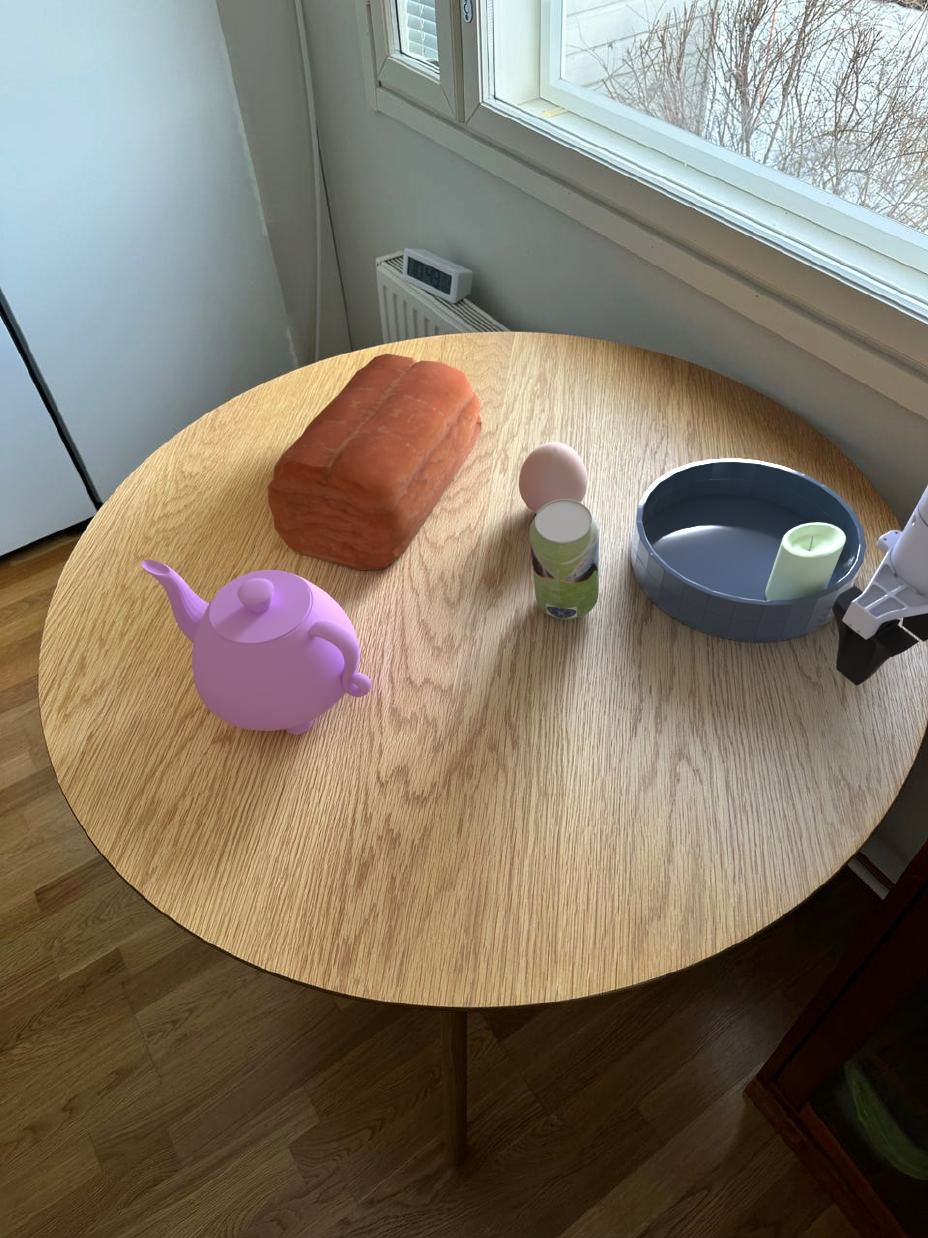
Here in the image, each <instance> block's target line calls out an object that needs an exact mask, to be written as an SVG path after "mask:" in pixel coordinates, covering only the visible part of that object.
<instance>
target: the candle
mask: <svg viewBox="0 0 928 1238" xmlns="http://www.w3.org/2000/svg"><path fill="white" fill-rule="evenodd" d="M845 541H846V536H845V534H844V532H843V531H842V530H841V529H839V528H838V527H836V526H834V525H831V524H826V523H808V524H803V525H800V526H797V527H795V528H793V529H791V530H790V531H788V532H787V533H786V534H785V535H784V537H783V539H782V542H781V545H780V548H779V551H778V554H777V557H776V560H775V563H774V566H773V569H772V572H771V575H770V578H769V581H768V585H767V588H766V591H765V596H766V599H767V601H770V600H792V599H796V598H801V597H805V596H810V595H814V594H816V593H818V592H821V591H823V590H825V589H826V588H827V586H828V583H829V581H830V578H831V576H832V573H833V571H834V568H835V566H836V564H837V561H838V559H839V556H840V554H841V551H842V549H843V546H844V544H845Z"/></svg>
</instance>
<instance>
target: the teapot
mask: <svg viewBox="0 0 928 1238" xmlns="http://www.w3.org/2000/svg"><path fill="white" fill-rule="evenodd" d="M141 567H142V569H143V570H144V571H146V572H147V574H149V575H151V576H152V578H154V579H156V581H157V582H158V583H159V584H160V585H161V586H162V588H163V590H164V591H165V593H166V595H167V598H168V601H169V604H170V607H171V611H172V614H173V616H174V619H175V622H176V624H177V626H178V628H179V629H180V631H181V632H182V634H183V635H184V636H185V637H186V638H187V639H188V640H189V641H190V642H191V643H192V649H191V669H192V676H193V682H194V685H195V688H196V692H197V694H198V696H199V698H200V700H201V702H202V704H203V705H204V706H205V707H206V708H207V710H208V711H210V712H211V713H212V714H213V715H214V716H216V717H217V718H219V719H220V720H222V721H223V722H225V723H226V724H229V725H232V726H234V727H237V728H241V729H243V730H244V729H245V730H251V731H258V732H272V731H273V732H274V731H283V730H285V731H286V732H287V733H288V734H290V735H293V736H294V735H297V736H299V735H303V734H305V733H307V732H308V731H309V730H310V729H311V728H312V726H313V724H314V720H315V719H317V718H318V717H320V716H322V715H323V714H325V713H326V712H328V711H330V710H331V708H333V707H334V706H336V704H337V703H338V702H339V701H340V700H341V699H342V698H343V697H344V696H345V695H346V694H348V695H349V696H351V697H354V698H362V697H364V696H365V697H366V696H367V694H369V693H370V692H371V689H372V685H373V684H372V683H373V682H372V680H371V679H370V678H369V676H367V675H365V674H364V673H361V672H358V670H359V665H360V661H361V649H360V643H359V639H358V635H357V633H356V630H355V628H354V626H353V624H352V622H351V620H350V618H349V617H348V615H347V614H346V612H345V611H344V609H343V607H341V606H340V604H339V603H338V602H337V601H336V600H335V599H334V598H333V597H332V596H330V594H329V593H328V592H326V591H325V590H323V589H322V588H320V587H319V586H317V585H315V584H314V583H312V582H311V581H309V580H307V579H306V578H305V577H304V578H303V577H301V576H299V575H297V574H294V573H291V572H289V571H284V570H280V569H262V570H256V571H252V572H248V573H245V574H242V575H240V576H237V577H236V578H234V579H232V580H231V581H229V582H228V583H226V584H225V585H223V586H222V587H221V588H220V589H219V590H218V591H217V592H216V593H215V595H214V596H213V597H212V598H211V600H210V602H209V603H208V602H207V601H205V600H204V599H202V597H200V596H199V595H198V594H197V593H196V592H194V590H193V589H192V588H191V587H190V586H189V585H188V583H187V582H186V580H184V579H183V578H182V577H181V576H180V574H178V573H177V572H176V571H175V570H174V569H173V568H171V567H170V566H168V565H167V564H164V563H162V562H160V561H158V560H153V559H145V560H142V562H141Z"/></svg>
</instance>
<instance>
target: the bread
mask: <svg viewBox="0 0 928 1238" xmlns="http://www.w3.org/2000/svg"><path fill="white" fill-rule="evenodd" d="M481 410H482V406H481V403H480V400H479V397H478V395H477V394H476V393H475V392H474V391H473V388H472V385H471V383H470V381H469V380H468V378H467V376H466V374H465V372H464V371H463V370H460V369H458V368H455V367H453V366H451V365H448V364H446V363H444V362H441V361H433V360H420V361H417V360H416V359H415V358H413V357H410V356H403V355H398V354H393V353H383V354H380V355H377V356H373V358H372V359H371V360H370V361H369V362H368V363H366V365H364V366H363V367H361V368H360V369H358V370H356V372H355V374H354V375H353V376H352V377H351V378H350V380H349V381H347V384H346V385H344V387H343V388H342V389H341V390H340V392H339V393H338V394H337V395H336V396H335V397H334V398H333V399H332V400H331V401H330V402H329V403H328V404H327V405H326V406H325V407H324V408H323V409H322V410H321V411H320V412H319V413H318V414H317V415H315V417H314V418H313V419H312V420H311V421H310V422H309V423H308V424H307V426H306V427H305V429H304V431H303V432H302V434H301V435H300V436H299V437H298V438H297V439H296V440H295V441H294V442H293V443H291V445H290V446H289V447H288V448H287V449H286V450H285V451H284V452H283V453H282V455H281V456H280V458H278V460H277V462H276V463H275V464H274V467H273V474H272V476H273V477H272V480H271V481H270V482H269V484H267V504H268V506H269V509H270V512H271V515H272V517H273V526H274V527H273V528H274V529H275V531H276V532H277V533H278V535H279V536H280V538H281V539H282V540H283V542H284V543H285V544H286V545H287V546H288V547H289V548H290V549H291V550H292V551H293V552H294V553H297V554H300V555H304V556H308V557H311V558H315V559H318V560H322V561H325V562H328V563H333V564H337V565H339V566H344V567H347V568H350V569H354V570H357V571H372V570H374V571H375V570H384V569H386V568H387V567H388V566H389V565H391V564H392V563H393V562H394V561H395V560H397V559H398V558H399V557H401V556H402V555H403V554H404V553H406V551H407V549H408V548H409V547H410V545H411V543H412V542H413V540H414V539H415V538H416V536H417V534H418V533H419V531H420V530H421V528H422V527H423V525H424V524H425V522H426V521H427V519H428V518H429V516H430V515H431V513H432V512H433V510H434V508H435V507H436V506H437V504H438V503H439V501H440V499H441V498H442V497H443V495H444V493H445V492H446V490H447V489H448V488H449V486H450V484H451V482H452V481H453V480H454V478H455V477H456V475H457V473H458V472H459V470H460V469H461V467H462V465H463V464H464V463H465V461H466V459H467V458H468V456H469V455H470V453H471V451H472V450H473V448H474V446H475V444H476V443H477V441H478V439H479V437H480V435H481V433H482V419H481V416H480V413H481Z"/></svg>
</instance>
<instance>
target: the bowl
mask: <svg viewBox="0 0 928 1238" xmlns="http://www.w3.org/2000/svg"><path fill="white" fill-rule="evenodd" d="M808 523H826V524H831V525H834V526H836V527H838V528H839V529H841V530H842V531H843V532H844V534H845V536H846V541H845V544H844V546H843V549H842V551H841V554H840V556H839V559H838V561H837V564H836V566H835V568H834V571H833V573H832V576H831V578H830V581H829V583H828V586H827V588H826V589H825V590H823V591H821V592H818V593H816V594H814V595H810V596H805V597H801V598H796V599H792V600H770V601H767V599H766V596H765V591H766V588H767V585H768V581H769V578H770V575H771V572H772V569H773V566H774V563H775V560H776V557H777V554H778V551H779V548H780V545H781V542H782V539H783V537H784V535H785V534H786V533H787V532H788V531H790V530H791V529H793V528H795V527H797V526H800V525H803V524H808ZM866 550H867V542H866V535H865V530H864V527H863V525H862V523H861V521H860V519H859V517H858V516H857V514H856V512H855V511H854V509H852V507H851V506H850V505H849V504H848V503H847V502H846V501H845V500H844V499H843V497H841V496H840V495H839V494H837V493H836V492H835V491H833V490H832V489H831V488H830V487H828V486H827V485H826V484H824V483H822V482H820V481H819V480H817V479H815V478H812V477H811V476H810V475H807V474H805V473H802V472H800V471H797V470H795V469H791V468H789V467H787V466H783V465H780V464H775V463H771V462H766V461H762V460H755V459H745V458H733V457H731V458H712V459H706V460H700V461H694V462H690V463H687V464H685V465H682V466H679V467H676V468H673V469H671V470H669V471H668V472H666V473H665V474H663V475H661V476H660V477H658V478H657V479H656V480H654V481H653V482H652V484H651V485H649V487H647V489H646V490H645V491H644V492H643V493H642V496H641V498H640V500H639V503H638V504H637V507H636V513H635V520H634V527H633V533H632V539H631V549H630V563H631V568H632V571H633V574H634V577H635V579H636V582H637V583H638V585H639V586H640V588H641V590H642V591H643V593H644V594H645V595H646V596H647V598H648V599H650V601H651V602H653V604H655V605H656V606H657V607H658V608H659V609H660V610H661V611H662V612H664V613H665V614H667V615H668V616H669V617H671V618H673V619H675V620H676V621H678V622H679V623H681V624H683V625H685V626H687V627H689V628H692V629H694V630H696V631H699V632H702V633H704V634H707V635H710V636H713V637H717V638H721V639H724V640H731V641H736V642H746V643H772V642H773V643H774V642H782V641H787V640H791V639H792V640H793V639H796V638H799V637H802V636H806V635H808V634H810V633H813V632H815V631H816V630H819V629H820V628H822V627H823V626H825V625H826V624H828V623H830V622H831V621H832V620H833V618H835V616H834V613H833V611H832V606H833V603H834V601H835V599H836V598H837V596H838V595H839V594H840V593H842V592H844V591H845V590H847V589H849V588H850V587H852V586H854V584H855V582H856V580H857V578H858V575H859V573H860V571H861V568H862V566H863V564H864V561H865V556H866Z"/></svg>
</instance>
